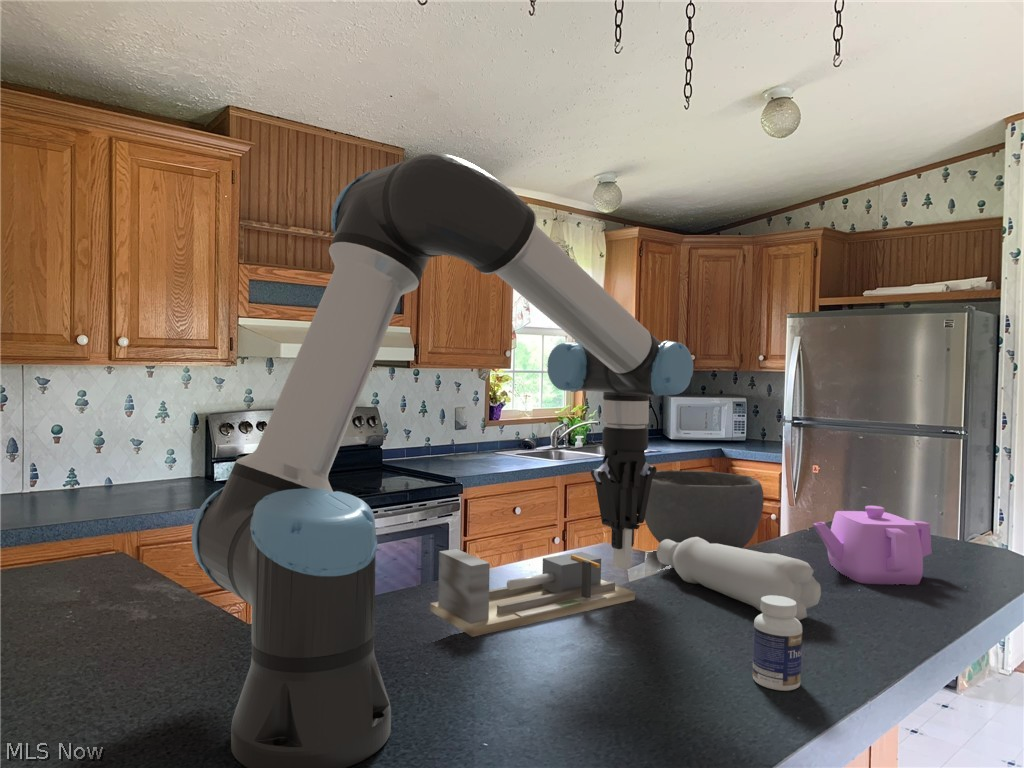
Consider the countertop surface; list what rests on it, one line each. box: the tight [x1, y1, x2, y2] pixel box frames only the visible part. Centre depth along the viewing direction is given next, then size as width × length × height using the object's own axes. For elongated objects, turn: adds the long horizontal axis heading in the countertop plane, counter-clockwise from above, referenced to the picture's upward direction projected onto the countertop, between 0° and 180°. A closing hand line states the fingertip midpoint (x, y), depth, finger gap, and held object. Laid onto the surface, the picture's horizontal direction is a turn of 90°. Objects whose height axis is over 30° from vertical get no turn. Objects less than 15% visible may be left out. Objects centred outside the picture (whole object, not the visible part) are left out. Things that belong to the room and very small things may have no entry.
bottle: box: [656, 537, 822, 621], centre depth 120 cm, size 9×9×30 cm
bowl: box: [644, 469, 765, 549], centre depth 148 cm, size 24×24×15 cm
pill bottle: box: [752, 595, 803, 692], centre depth 87 cm, size 5×5×10 cm
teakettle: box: [812, 505, 933, 586], centre depth 134 cm, size 17×17×12 cm
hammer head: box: [582, 560, 591, 598], centre depth 112 cm, size 1×1×5 cm
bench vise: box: [429, 548, 636, 638], centre depth 113 cm, size 12×30×9 cm, turn 125°
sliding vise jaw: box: [506, 551, 602, 593], centre depth 113 cm, size 9×16×5 cm, turn 125°
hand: (622, 567), depth 123 cm, fingers closed
